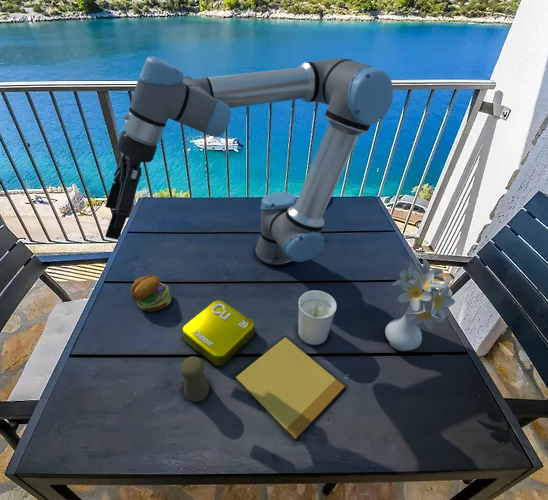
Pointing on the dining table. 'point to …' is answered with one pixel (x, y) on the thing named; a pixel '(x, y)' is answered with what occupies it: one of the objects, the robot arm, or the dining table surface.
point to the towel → (290, 386)
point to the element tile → (218, 332)
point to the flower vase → (418, 306)
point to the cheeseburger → (150, 293)
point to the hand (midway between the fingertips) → (111, 221)
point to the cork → (194, 379)
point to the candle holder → (315, 316)
